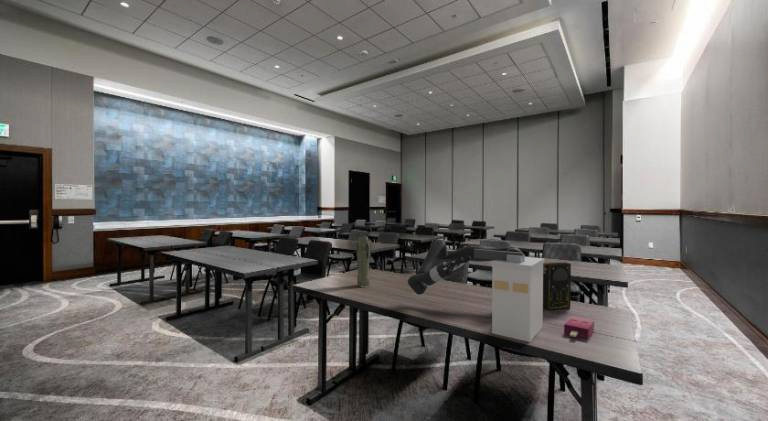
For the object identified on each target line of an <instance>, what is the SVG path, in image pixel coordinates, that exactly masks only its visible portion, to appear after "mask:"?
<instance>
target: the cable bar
mask: <svg viewBox="0 0 768 421" xmlns="http://www.w3.org/2000/svg"><path fill="white" fill-rule="evenodd" d="M525 257H526V254H524V252H522V253H519V252H507V251H495V250H483V249H474V258H482V259H491V260H501V261H507V262H514V263H522V262H524V261H525Z"/></svg>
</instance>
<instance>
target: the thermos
mask: <svg viewBox="0 0 768 421" xmlns="http://www.w3.org/2000/svg"><path fill="white" fill-rule="evenodd" d="M371 247H372V246H371V244H370V240H369V237H368V236H367V235H361V236H358V240H357V243H356V258H357V259H356V261H357V276H356V279H357V280H356V282H357V285H358V286H364V287H363V288H366V287H365V286H369V285H370V282H371V281H370V280H371V276H370V258H371ZM358 286H357V287H358ZM369 287H370V286H369Z"/></svg>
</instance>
